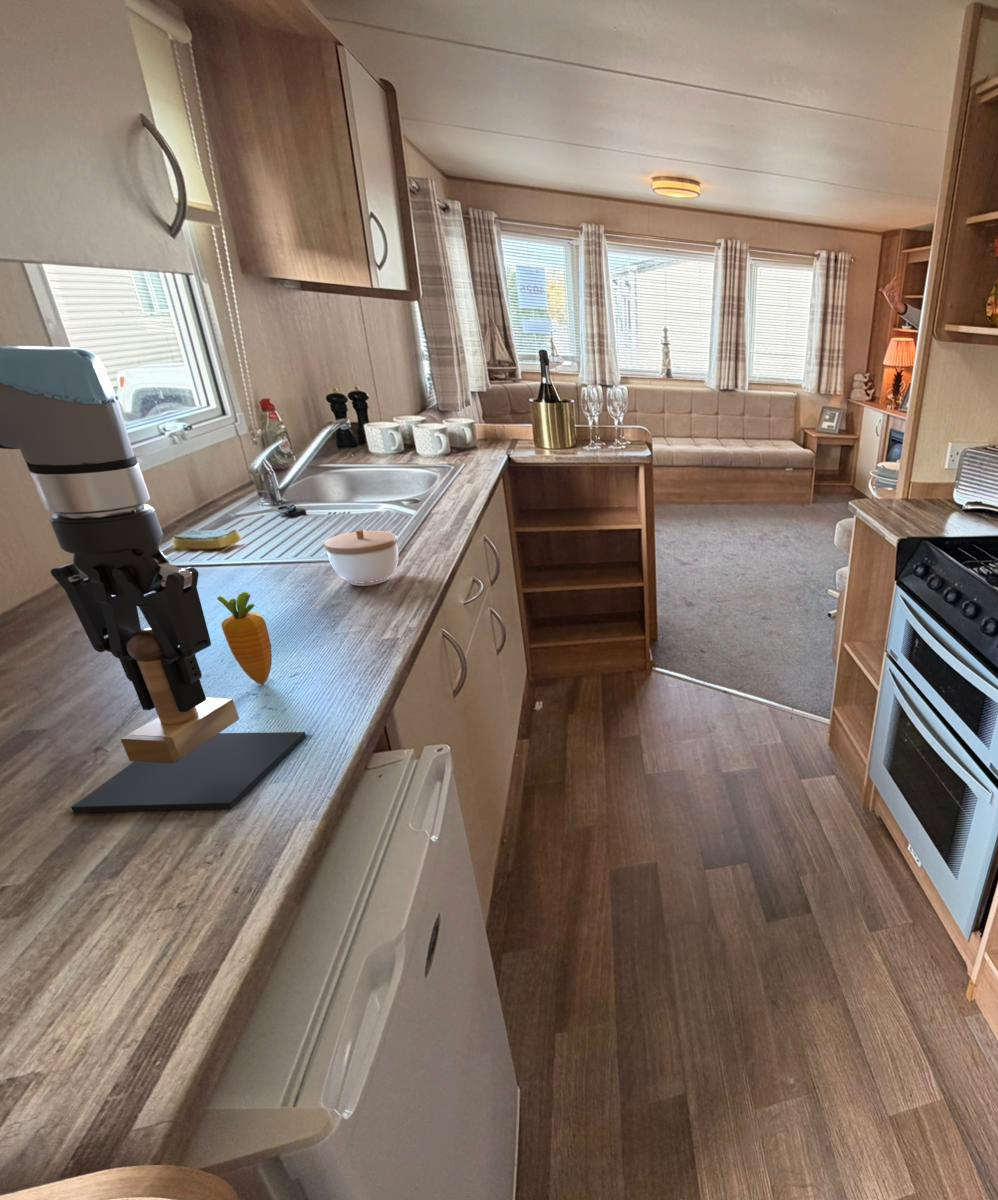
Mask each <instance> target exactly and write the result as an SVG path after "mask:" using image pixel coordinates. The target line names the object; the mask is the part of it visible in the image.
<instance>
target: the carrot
mask: <svg viewBox="0 0 998 1200" xmlns="http://www.w3.org/2000/svg"><path fill="white" fill-rule="evenodd" d="M250 598H251V593H250V592H247V591H243V592H241V593H239V594H238V595H237V597H236V598H231V599H230V600H229V601H228V600H227V599H226V598H225V597H224V596H222V595H218V596H217V598H216V600H218V602H220V603H221V604H222V605H223V606H224V607H225V608H226V609H227V610H228V611H229V612H230V613H231V614H232V615H231V616H229V617H227V618H225V619H224V620H223V621H221V629H222V631H223V635H224V637H225V641H226V642H227V645H228V648H229V649H230V652H231V654H232V655H233V657H234V659H235V660H236V662H237V663H238V665H239V666H240V668H241V669H242V671H243V672H244V673H245V674H246V675H247V676H248V677H249V678H250V679H251V680H252V681H254V682H255V683H256V684H258V685H261V686H263V685H264V684H265V683H266V682H268V679H269V676H270V673H271V669H272V663H273V662H272V655H273V654H272V644H271V638H270V634H269V630H268V626H267V623H266V621H265V619H264V618H263V616H262V615H261V614H260V613H257V612H250V611H252V609H254V607H255V606H256V604H255V603H250V604H248V602H249V601H250Z"/></svg>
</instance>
